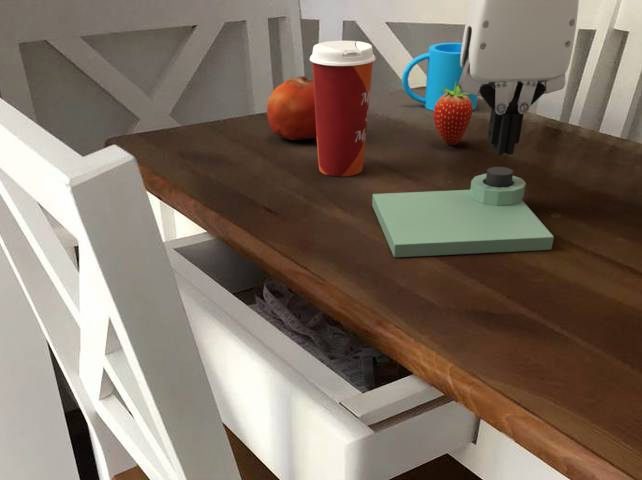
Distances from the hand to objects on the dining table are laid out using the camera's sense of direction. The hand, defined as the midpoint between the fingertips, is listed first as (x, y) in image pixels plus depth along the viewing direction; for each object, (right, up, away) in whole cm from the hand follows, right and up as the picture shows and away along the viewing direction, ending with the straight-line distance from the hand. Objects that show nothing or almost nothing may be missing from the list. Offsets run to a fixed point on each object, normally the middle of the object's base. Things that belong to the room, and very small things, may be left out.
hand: (501, 150), depth 78 cm
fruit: (-1, +10, +22) cm, 24 cm away
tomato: (-22, +12, +26) cm, 36 cm away
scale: (-5, -8, 0) cm, 9 cm away
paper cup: (-16, +4, +15) cm, 23 cm away
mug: (0, +22, +38) cm, 44 cm away
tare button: (0, -3, +2) cm, 4 cm away
